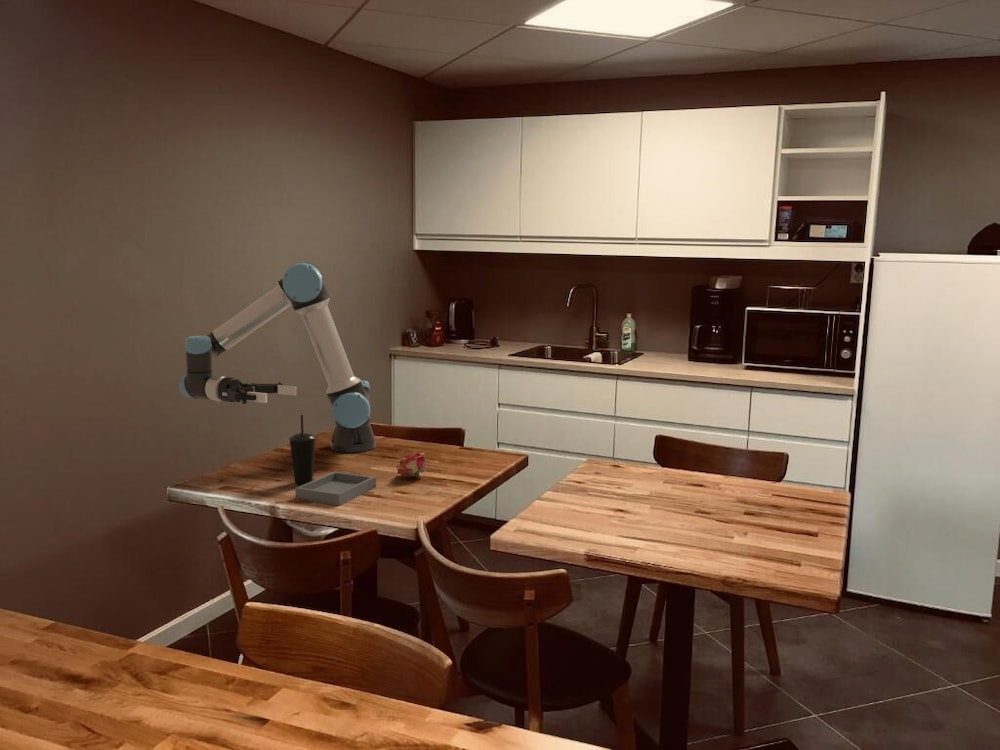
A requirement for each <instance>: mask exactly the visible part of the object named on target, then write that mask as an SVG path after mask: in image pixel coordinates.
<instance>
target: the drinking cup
mask: <svg viewBox="0 0 1000 750" xmlns="http://www.w3.org/2000/svg"><path fill="white" fill-rule="evenodd" d="M304 431H305V430H304V415H303V414H300V432H296V433H293V434H292V435H289V436H288V441H289V443H290V444H289V446H290V452H291V454H290V455H291V461H292V469H293V476H294V485H296V484H297V485H296V486H300V485H304V484H306V483H308V482H311V481H313V479H314V466H315V464H314V463H315V452H316V451H315V450H316V449H315V448H316V439H317V435H315V434H312V433H310V432H307V431H306V432H304Z"/></svg>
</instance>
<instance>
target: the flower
mask: <svg viewBox="0 0 1000 750" xmlns="http://www.w3.org/2000/svg"><path fill="white" fill-rule="evenodd" d="M424 455H425V452H423V453H422V452H421V453H419V451H418V452H417V451H413V452H411V454H407V455H406V456H405V457H404V458H401V459H400V460H399V466H401V467H397V469H396V470H397V474H398V475H399V474H400V475H401V476H402V478H409V477H413V476H415V477H417V479H418V480H420V479H422V478H421V476H420V473H422V474H423V473H425V472H426V471H427V468H425V467H426V466H425V461H426V457H425V456H424Z"/></svg>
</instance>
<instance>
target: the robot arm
mask: <svg viewBox="0 0 1000 750" xmlns="http://www.w3.org/2000/svg"><path fill="white" fill-rule="evenodd" d="M330 300H331V297H330V294H329V293H328V289H327V286H326V284H325V277H324V274H323V272H322V270H321V269H320V268H319V266H317V265H315V264H314V263H311V262H303V261H302V262H296V263H294V264H292V265H291V266H289V267H288V268H287V269H286V270H285V272H284V274H283V277H282V278H281V279H280V280H278V281H277V282H276V286H275V287H274V288H272V289H270V290H269V291H268V292H267V293H265V294H264V295H262V296H261V297H260V298H258V299H257V300H255V301H254V302H253V303H251V304H250V305H248V306H247V307H245V308H244V309H242V310H241V311H239V312H238V313H236V315H233V316H232V317H230V319H228V320H226V321H225V322H224V323H223V324H220V326H218V327H217V328H215V329H214V330H213V331H212V332H209V333H208V334H207V335H190V336H187V337H186V338H185V346H184V350H185V365H186V374H184V375H182V377H181V378H180V381H179V383H178V390H179V392H180V394H181V395H182V396H183V397H186V398H191V399H195V400H206V401H207V400H210V401H216V403H220V402H225V403H242V405H245V404H247V403H248V402H249V403H250V402H252V403H261V404H267V403H268V394H278V395H284V396H285V395H286V396H297V395H298V394H297V393H298V390H297V386H295V385H286V384H285V385H284V384H283V383H281V382H280V381H279V382H277V383H257V382H256V383H254V382H252V383H251V382H250V383H242V382H241V380H240V379H239V378H237V377H230V376H222V375H221V376H220V375H213V361H214V360H216V359H218V357H219V356H222V355H223V354H224V353H225V352H227V351H228V350H229V349H231V348H233V346H235V345H236V344H238V343H240V342H241V341H242V340H244V339H245V338H247V337H248V336H249V335H251V334H252V333H254V332H256V330H259V328H260V327H263V326H264V325H265V324H266V323H268V322H269V321H271V320H272V319H274V318H275V317H277V316H278V315H280V314H282V312H284V311H286V310H287V309H288V308H289V307H291V306H292V308H293V311H294V312H295V313H297V314H299V315H300V316H301V318H302V321H303V324H304V325H305V328H306V332H307V333H308V336H309V338H310V342H311V344H312V346H313V347H312V348H313V349H314V351H315V355H316V356H317V359H318V361H319V365H320V367H321V369H322V373H323V374H324V375H323V376H324V377H325V380H326V383H327V385H328V386H327V389H326V391H325V393H326V397H327V398H328V402H329V404H330V407H331V412H332V413H331V414H332V417H333V419H334V420H335V421H334V423H335V424H334V429H333V432H332V435H331V436H332V437H331V439H330V449H331V450H333V451H334V452H339V453H360V452H366V451H371V450H374V449H375V448H376V446H377V445H376V444H377V443H376V438H375V435H374V432H373V429H372V426H371V412H372V411H371V410H372V407H371V401H370V400H371V395H370V393H371V392H370V390H371V387H370V383H369V381H368V380H361V379H360V378H359V377H356V376H355V375H354V372H353V369H352V367H351V363H350V362H349V359H348V355H347V354H346V351H345V349H344V345H343V343H342V341H341V338H340V334H339V333H338V332H339V331H338V329H337V327H336V324H335V322H334V319H333V317H332V314H331V312H330V311H331V310H330V308H329V303H330Z"/></svg>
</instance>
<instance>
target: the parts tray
mask: <svg viewBox="0 0 1000 750" xmlns="http://www.w3.org/2000/svg"><path fill="white" fill-rule="evenodd" d="M376 477H377V476H371V475H363V474H355V473H347V472H341V471H340V472H339V471H332V472H330V473H328V474H325V475H323V476H320V477H318V478H316V479H314V480H313V481H311V482H308V483H306V484H304V485H301V486H300V485H298V486H297V487H295V488H294V491H295V499H296V498H298V499H297V500H300V499H303V500H302V501H306V500H309V501H308V502H313V501H316V502H315V503H319V502H320V504H326V503H327V504H328V505H331V506H333V505H334V506H341V505H344V504H345V503H347V502H350V501H351V500H353V499H356V498H357V496H358V497H359V496H362V495H364V494H366V493H368V492H369V490H370V491H372V490H374V489H376V488H377V478H376ZM375 487H376V488H375ZM373 488H374V489H373ZM371 489H372V490H371ZM367 491H368V492H367ZM365 492H366V493H365Z"/></svg>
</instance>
